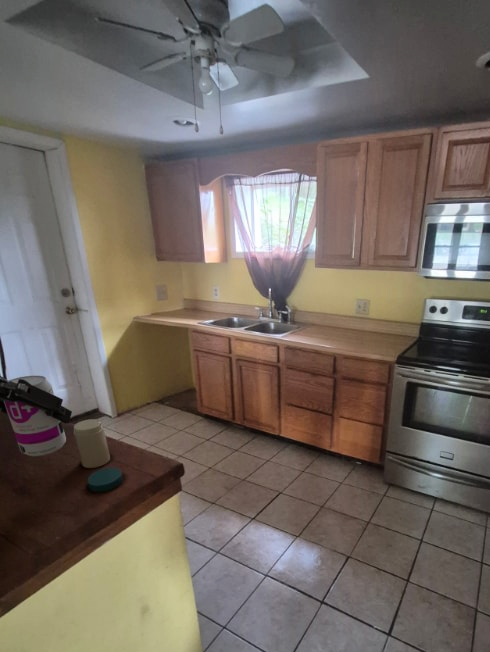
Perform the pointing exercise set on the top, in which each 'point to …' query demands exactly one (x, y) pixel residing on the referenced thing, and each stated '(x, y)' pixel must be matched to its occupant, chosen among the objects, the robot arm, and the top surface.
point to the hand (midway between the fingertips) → (48, 416)
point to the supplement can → (35, 423)
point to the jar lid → (105, 479)
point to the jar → (91, 443)
